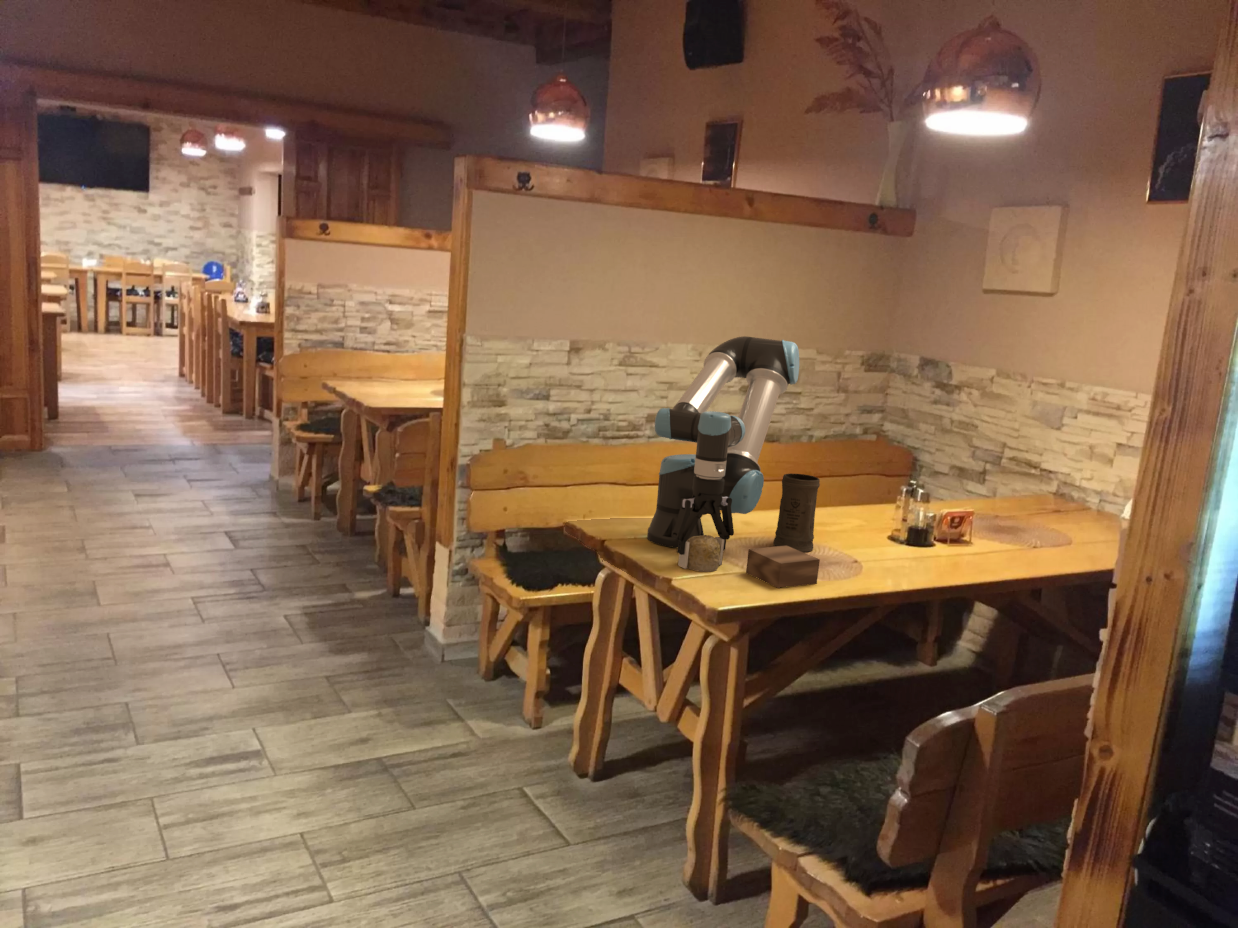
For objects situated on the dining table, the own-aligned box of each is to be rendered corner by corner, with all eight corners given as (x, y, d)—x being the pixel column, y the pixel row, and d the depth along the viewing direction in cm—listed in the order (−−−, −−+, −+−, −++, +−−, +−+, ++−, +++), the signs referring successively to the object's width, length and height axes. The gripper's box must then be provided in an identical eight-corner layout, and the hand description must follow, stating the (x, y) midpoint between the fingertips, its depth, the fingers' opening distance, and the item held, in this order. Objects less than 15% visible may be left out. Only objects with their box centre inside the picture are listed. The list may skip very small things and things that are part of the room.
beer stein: (812, 555, 257) (822, 480, 254) (772, 549, 259) (781, 475, 256) (812, 544, 272) (822, 474, 269) (774, 539, 274) (782, 469, 271)
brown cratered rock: (707, 574, 232) (710, 543, 231) (674, 565, 237) (677, 535, 236) (726, 566, 240) (729, 537, 238) (693, 558, 245) (696, 529, 243)
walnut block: (745, 572, 236) (748, 549, 235) (783, 568, 243) (786, 545, 241) (778, 588, 226) (781, 563, 225) (816, 583, 233) (819, 559, 232)
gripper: (679, 481, 226) (670, 573, 230) (755, 478, 237) (745, 565, 242) (662, 474, 232) (653, 564, 236) (736, 471, 244) (727, 557, 248)
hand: (700, 565), depth 239 cm, fingers open, 10 cm apart
